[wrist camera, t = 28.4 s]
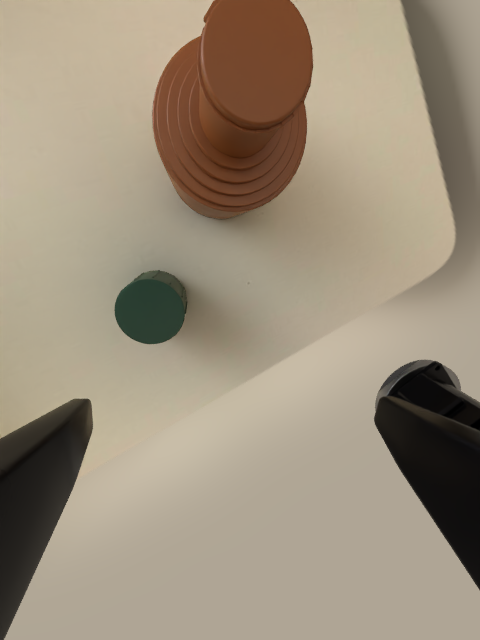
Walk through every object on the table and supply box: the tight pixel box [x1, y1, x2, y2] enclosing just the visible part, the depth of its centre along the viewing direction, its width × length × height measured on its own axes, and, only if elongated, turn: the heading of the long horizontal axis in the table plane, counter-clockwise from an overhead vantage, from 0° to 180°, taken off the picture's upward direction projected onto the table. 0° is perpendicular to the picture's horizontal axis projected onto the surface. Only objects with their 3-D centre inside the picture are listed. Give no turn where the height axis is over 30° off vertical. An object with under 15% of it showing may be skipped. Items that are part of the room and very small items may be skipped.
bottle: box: [152, 0, 313, 219], centre depth 12 cm, size 6×6×12 cm
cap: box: [115, 270, 187, 344], centre depth 18 cm, size 4×4×4 cm
